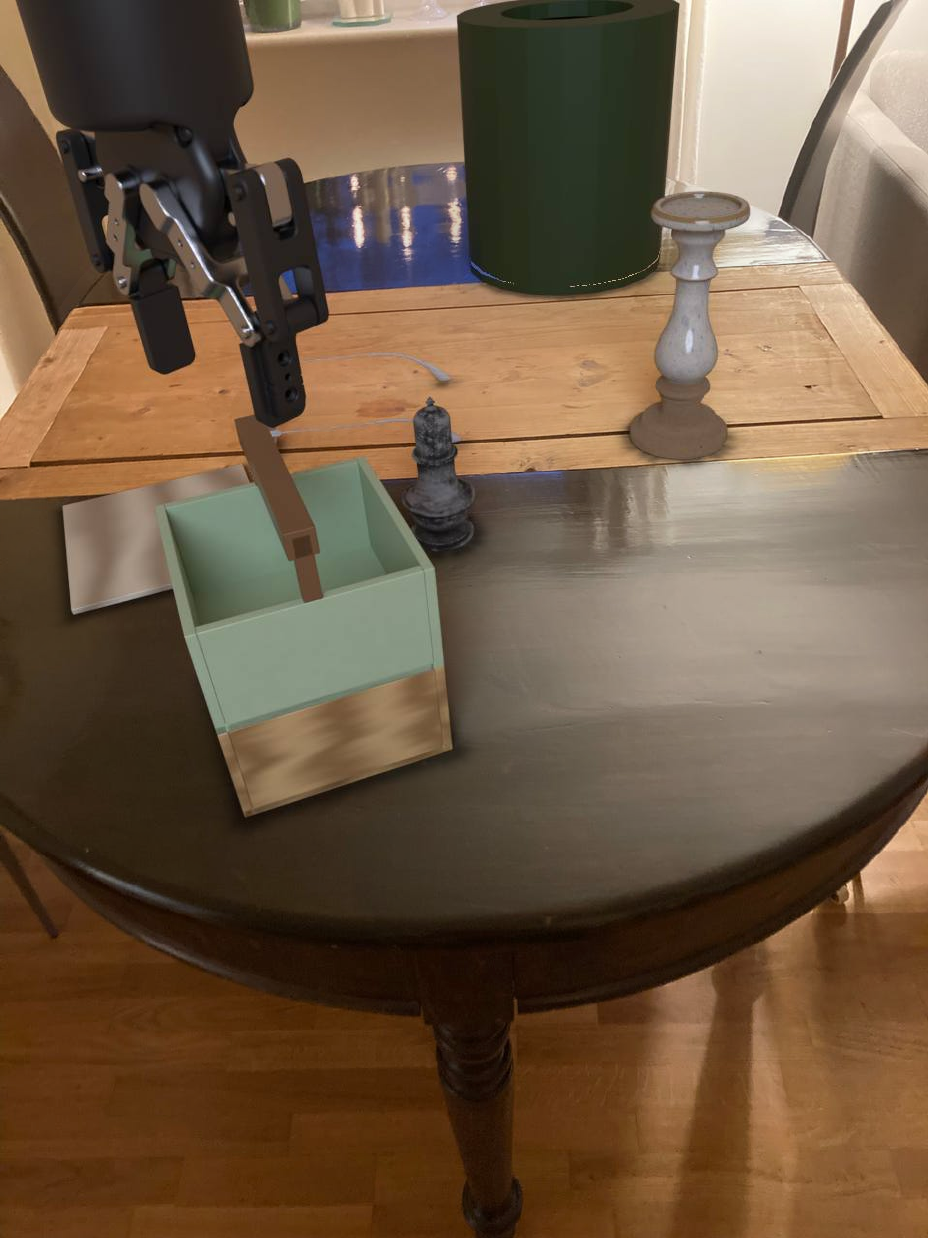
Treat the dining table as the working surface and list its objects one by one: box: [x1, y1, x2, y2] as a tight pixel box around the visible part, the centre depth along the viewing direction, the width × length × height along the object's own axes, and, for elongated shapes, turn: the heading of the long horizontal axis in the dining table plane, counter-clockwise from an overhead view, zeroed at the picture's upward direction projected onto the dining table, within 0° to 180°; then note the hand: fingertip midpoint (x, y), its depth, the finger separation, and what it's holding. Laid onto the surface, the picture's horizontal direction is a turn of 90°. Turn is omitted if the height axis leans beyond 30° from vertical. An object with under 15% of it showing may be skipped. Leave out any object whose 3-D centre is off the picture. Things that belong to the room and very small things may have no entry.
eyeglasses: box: [267, 352, 463, 444], centre depth 90 cm, size 15×18×4 cm
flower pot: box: [456, 0, 681, 296], centre depth 114 cm, size 25×25×28 cm
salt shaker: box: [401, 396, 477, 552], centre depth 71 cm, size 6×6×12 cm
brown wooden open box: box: [216, 665, 454, 818], centre depth 58 cm, size 13×13×7 cm
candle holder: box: [629, 190, 751, 460], centre depth 78 cm, size 9×9×20 cm
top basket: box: [154, 414, 445, 735], centre depth 52 cm, size 13×13×11 cm
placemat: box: [62, 463, 251, 615], centre depth 77 cm, size 16×16×1 cm
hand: (225, 392), depth 42 cm, fingers open, 8 cm apart
